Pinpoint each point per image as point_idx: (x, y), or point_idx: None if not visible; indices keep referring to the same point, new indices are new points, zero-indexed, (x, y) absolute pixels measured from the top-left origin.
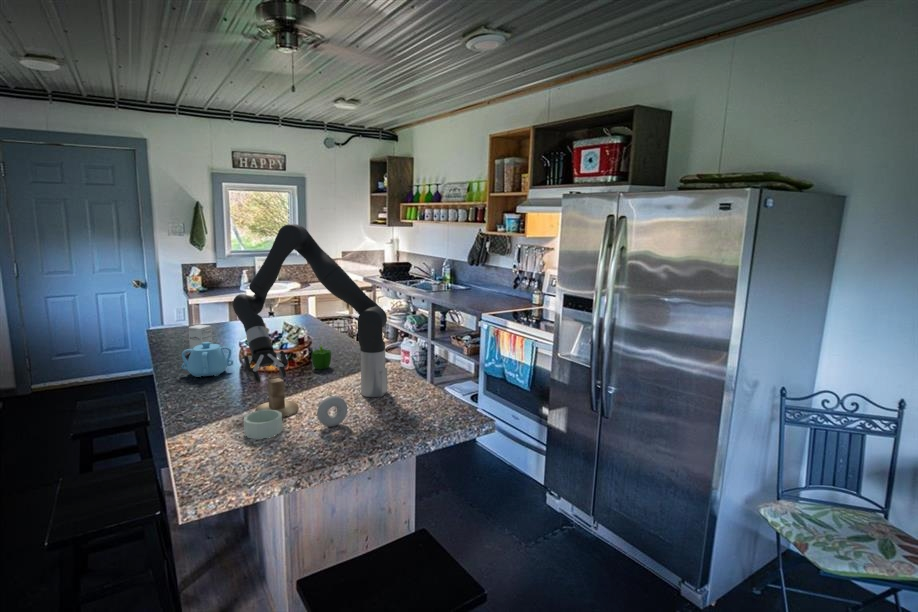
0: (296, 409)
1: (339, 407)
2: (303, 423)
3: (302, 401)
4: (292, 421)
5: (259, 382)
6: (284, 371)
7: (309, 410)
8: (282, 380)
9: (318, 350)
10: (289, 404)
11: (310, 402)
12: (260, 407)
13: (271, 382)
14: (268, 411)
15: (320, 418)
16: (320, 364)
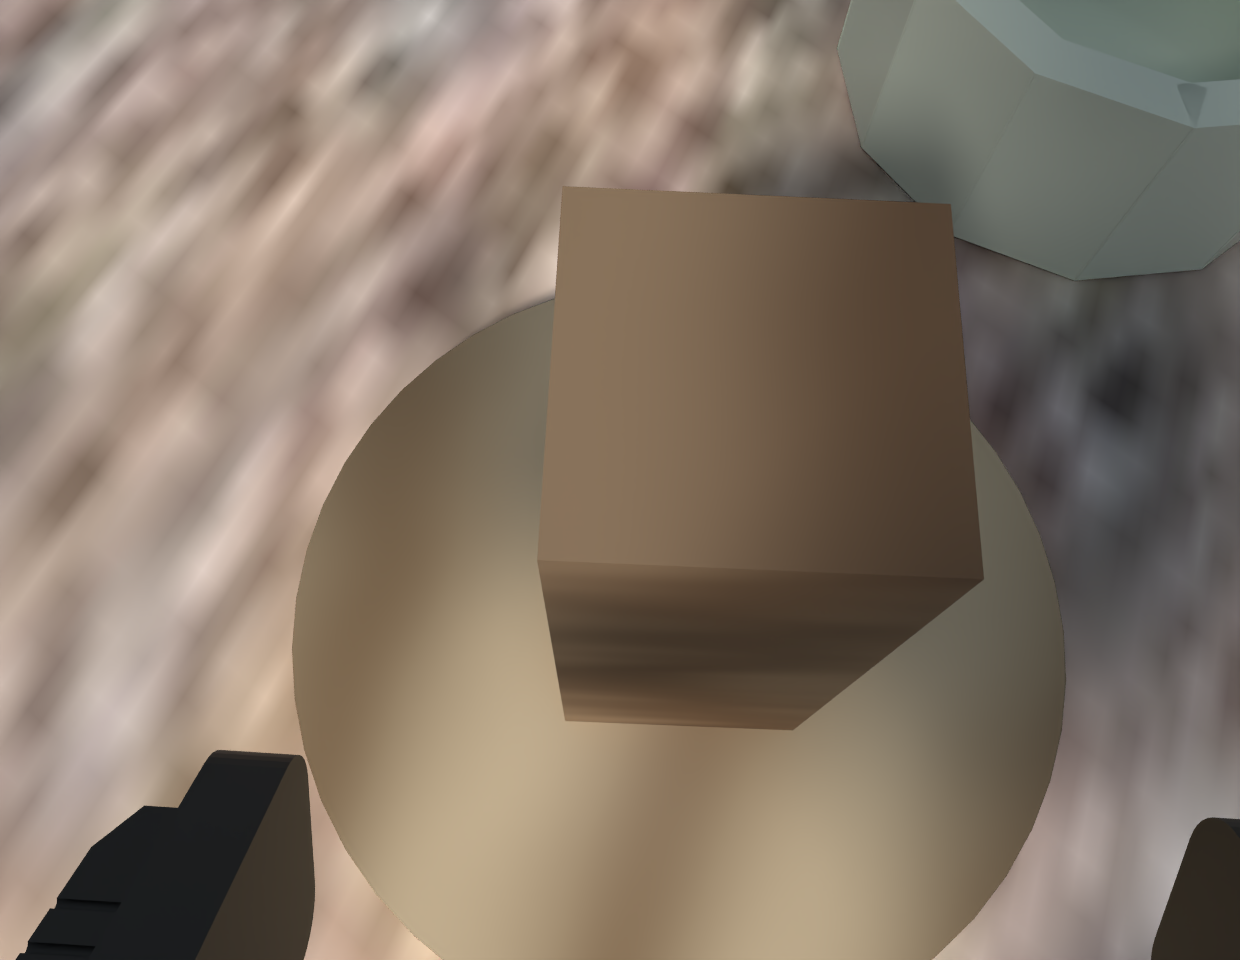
0: (442, 362)
1: None
2: (570, 4)
3: (100, 767)
4: (655, 129)
5: (1178, 901)
6: (55, 958)
7: (265, 315)
8: (582, 228)
9: None
10: (433, 615)
11: (30, 619)
12: (936, 823)
13: (950, 250)
14: (1046, 38)
15: None
16: None
